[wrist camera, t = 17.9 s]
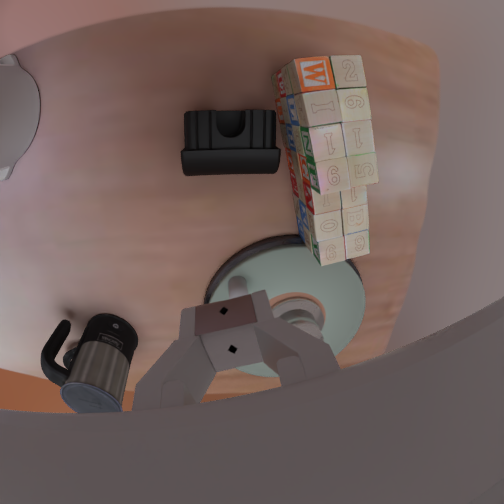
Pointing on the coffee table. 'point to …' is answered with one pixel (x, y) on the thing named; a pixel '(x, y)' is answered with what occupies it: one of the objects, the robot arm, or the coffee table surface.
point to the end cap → (230, 142)
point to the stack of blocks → (328, 152)
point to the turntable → (299, 291)
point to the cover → (301, 314)
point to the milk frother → (92, 364)
